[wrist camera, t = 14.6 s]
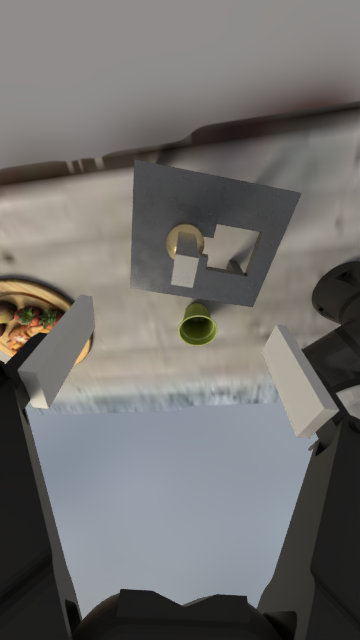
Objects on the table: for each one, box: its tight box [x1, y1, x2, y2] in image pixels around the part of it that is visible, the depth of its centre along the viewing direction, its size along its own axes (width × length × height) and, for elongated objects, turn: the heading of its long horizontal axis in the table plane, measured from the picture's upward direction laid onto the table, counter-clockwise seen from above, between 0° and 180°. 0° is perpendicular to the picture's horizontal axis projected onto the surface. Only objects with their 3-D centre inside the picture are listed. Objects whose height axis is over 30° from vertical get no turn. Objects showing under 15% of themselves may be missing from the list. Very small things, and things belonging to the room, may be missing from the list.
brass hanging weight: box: [166, 223, 204, 288], centre depth 31 cm, size 6×6×20 cm
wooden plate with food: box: [0, 279, 92, 365], centre depth 60 cm, size 32×32×8 cm
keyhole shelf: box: [130, 160, 301, 307], centre depth 39 cm, size 22×18×16 cm
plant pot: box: [178, 303, 217, 346], centre depth 55 cm, size 9×9×9 cm
